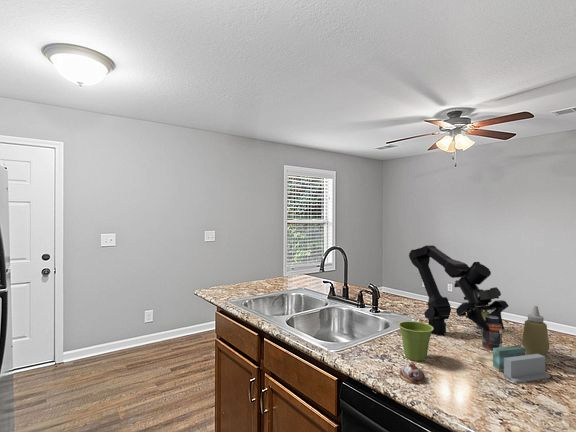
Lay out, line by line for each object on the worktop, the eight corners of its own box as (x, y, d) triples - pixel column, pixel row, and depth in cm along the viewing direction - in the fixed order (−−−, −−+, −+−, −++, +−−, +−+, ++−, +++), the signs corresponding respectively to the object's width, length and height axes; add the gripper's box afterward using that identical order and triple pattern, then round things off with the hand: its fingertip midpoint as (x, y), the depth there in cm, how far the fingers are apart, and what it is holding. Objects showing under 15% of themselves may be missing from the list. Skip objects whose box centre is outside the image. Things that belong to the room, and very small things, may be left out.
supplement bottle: (506, 352, 112) (506, 319, 112) (489, 352, 111) (490, 319, 111) (493, 345, 118) (494, 314, 118) (478, 345, 117) (478, 314, 117)
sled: (472, 357, 116) (472, 338, 116) (496, 354, 119) (496, 336, 119) (499, 371, 106) (499, 351, 106) (525, 368, 109) (525, 348, 109)
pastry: (410, 386, 96) (410, 369, 96) (393, 374, 103) (393, 359, 103) (431, 381, 99) (431, 365, 99) (413, 370, 106) (413, 355, 106)
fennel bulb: (492, 329, 147) (493, 303, 147) (487, 331, 144) (487, 304, 144) (479, 326, 151) (479, 300, 151) (474, 328, 149) (474, 302, 149)
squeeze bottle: (516, 350, 123) (516, 303, 123) (536, 350, 124) (536, 303, 124) (534, 359, 115) (534, 309, 115) (555, 359, 116) (555, 309, 116)
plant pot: (431, 353, 120) (431, 322, 120) (434, 367, 109) (435, 333, 109) (397, 348, 124) (398, 319, 124) (397, 361, 113) (398, 329, 113)
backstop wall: (503, 376, 102) (504, 357, 102) (537, 372, 106) (537, 353, 106) (515, 383, 99) (515, 363, 99) (550, 377, 102) (550, 358, 102)
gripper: (462, 280, 116) (488, 321, 105) (504, 278, 120) (532, 317, 110) (446, 296, 124) (468, 336, 113) (486, 294, 128) (511, 332, 117)
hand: (495, 330), depth 113 cm, fingers closed on supplement bottle, 6 cm apart
